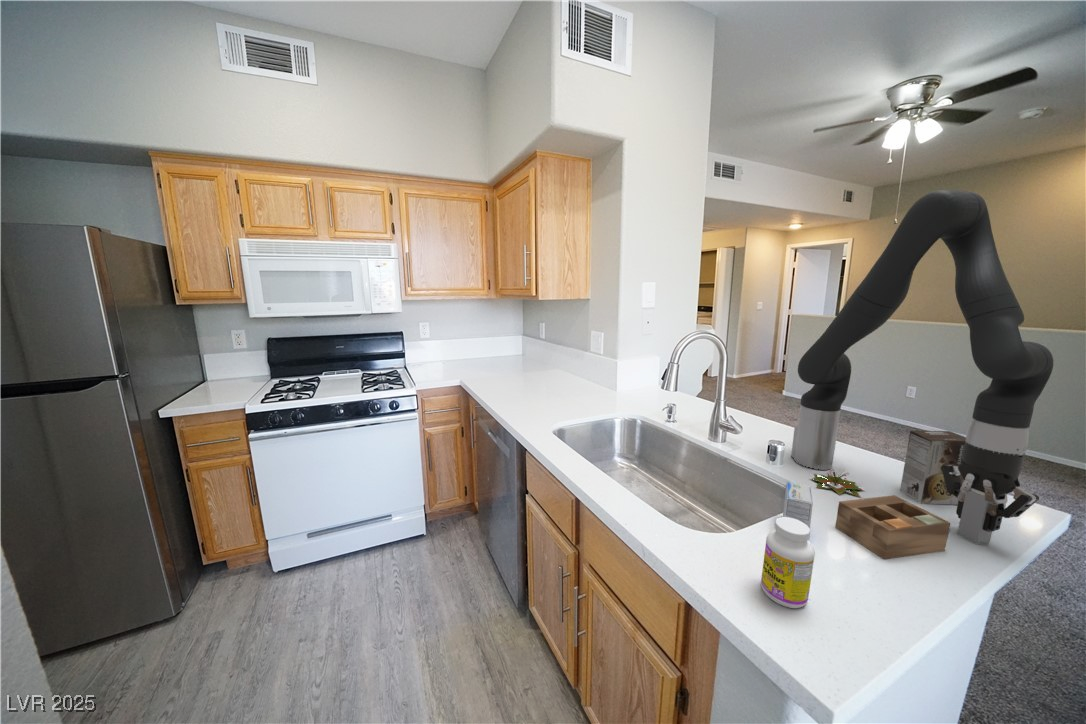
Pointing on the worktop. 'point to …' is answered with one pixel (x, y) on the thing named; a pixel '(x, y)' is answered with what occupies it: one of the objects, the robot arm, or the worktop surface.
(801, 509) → the medicine box
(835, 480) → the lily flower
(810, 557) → the supplement bottle
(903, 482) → the coffee box
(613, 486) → the worktop surface
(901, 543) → the socket block
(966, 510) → the plug
